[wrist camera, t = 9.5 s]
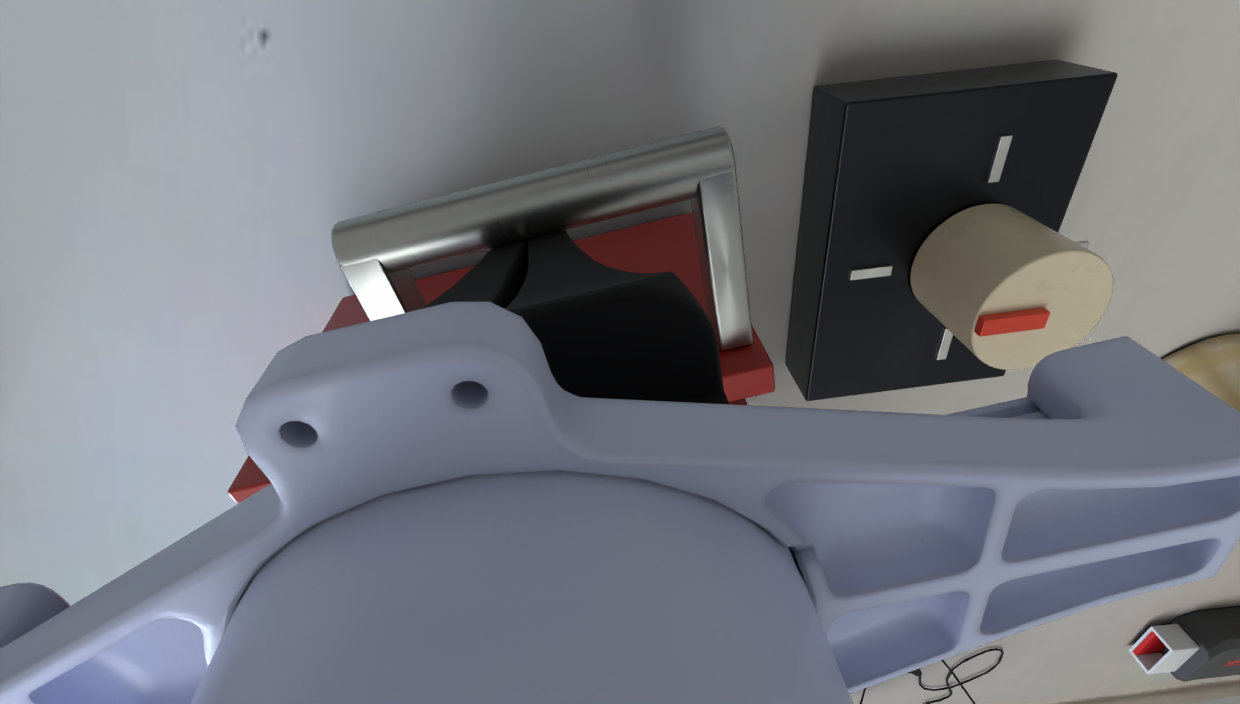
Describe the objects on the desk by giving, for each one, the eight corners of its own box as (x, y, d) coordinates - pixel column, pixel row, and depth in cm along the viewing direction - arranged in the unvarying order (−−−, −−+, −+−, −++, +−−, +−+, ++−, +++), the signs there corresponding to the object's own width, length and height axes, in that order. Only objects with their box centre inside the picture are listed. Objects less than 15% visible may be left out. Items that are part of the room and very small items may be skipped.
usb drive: (1263, 638, 45) (1301, 674, 42) (1119, 654, 44) (1150, 692, 42) (1309, 599, 42) (1352, 636, 39) (1155, 615, 41) (1190, 654, 39)
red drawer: (694, 232, 20) (776, 392, 13) (353, 315, 21) (245, 515, 14) (668, 59, 17) (756, 143, 10) (265, 163, 18) (62, 317, 10)
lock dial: (1045, 195, 19) (1148, 247, 15) (1008, 303, 21) (1090, 367, 18) (923, 210, 18) (1001, 265, 15) (899, 317, 21) (962, 384, 18)
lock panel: (992, 338, 25) (1034, 375, 23) (784, 364, 25) (807, 404, 22) (1090, 55, 19) (1161, 69, 16) (813, 86, 18) (848, 104, 16)
